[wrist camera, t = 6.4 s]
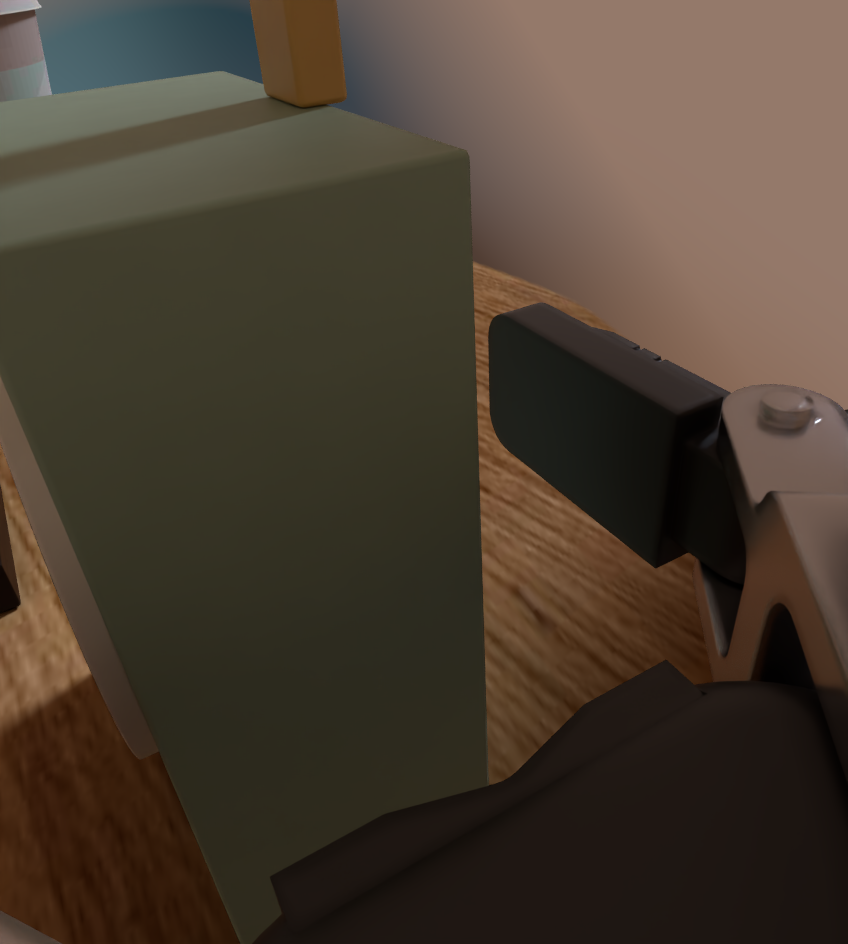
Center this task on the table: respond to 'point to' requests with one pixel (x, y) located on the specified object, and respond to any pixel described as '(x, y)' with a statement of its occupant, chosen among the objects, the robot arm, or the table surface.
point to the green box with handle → (253, 439)
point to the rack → (7, 567)
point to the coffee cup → (21, 52)
